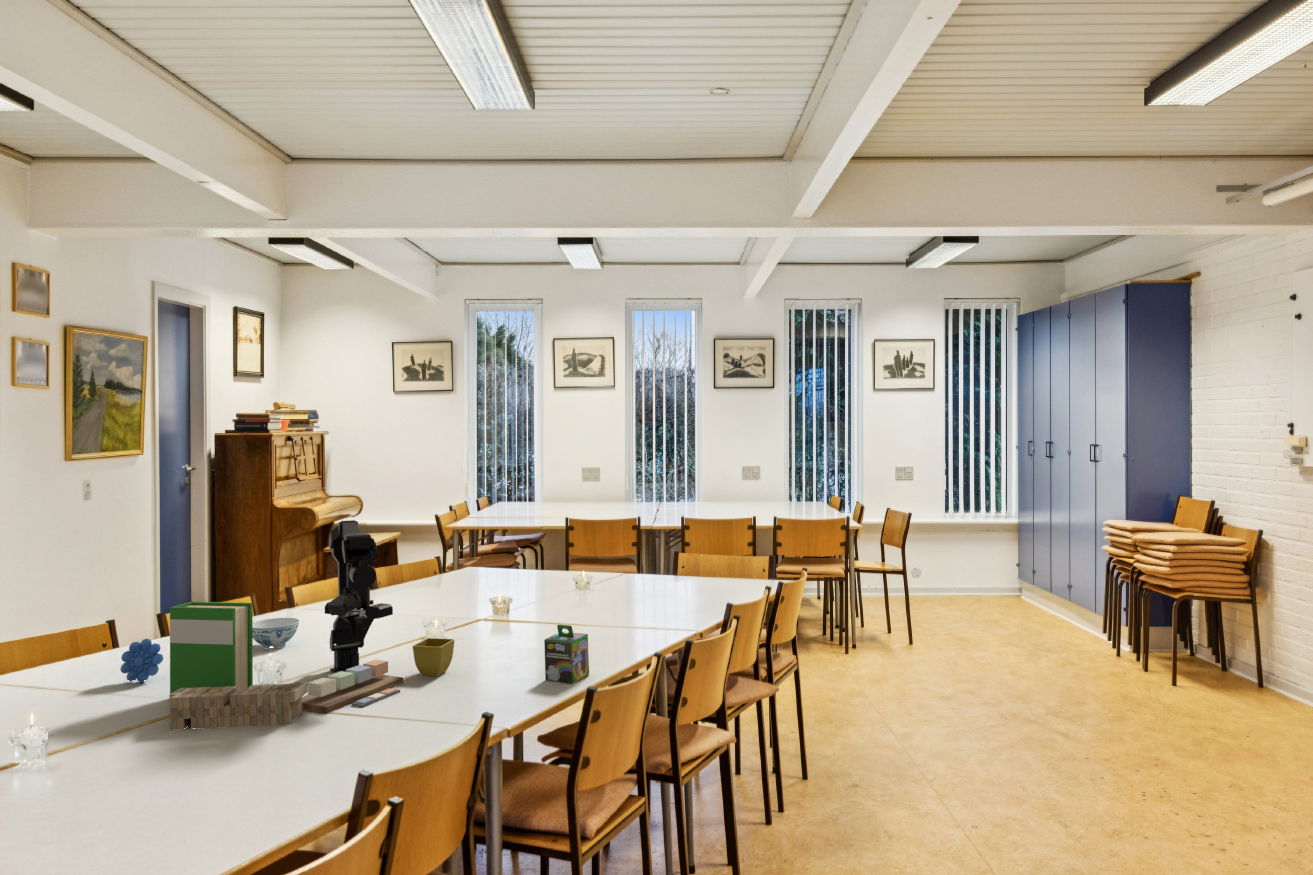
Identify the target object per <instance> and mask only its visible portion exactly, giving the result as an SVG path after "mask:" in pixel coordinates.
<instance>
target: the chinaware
mask: <svg viewBox="0 0 1313 875" xmlns="http://www.w3.org/2000/svg"><path fill="white" fill-rule="evenodd" d="M299 625H300V619H298V618H295V617H276V618H275V617H274V618H273V617H272V618H266V619H260V620H257V621H252V634H253V641H255V642H256V643H257V644H259V645H260V646H261V647H264V648H269V647H270V646H273V647H274V648H275V649H279V648H278V647H281V648H283V647H282V646H284V647H285V646H286V643H288V641H291V639H293V637H294V636H295V634H296V632H297V630H298V627H299ZM264 648H263V649H264Z"/></svg>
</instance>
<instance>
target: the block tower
mask: <svg viewBox="0 0 1313 875" xmlns="http://www.w3.org/2000/svg"><path fill="white" fill-rule="evenodd" d="M307 693H308V682H306V681H305V682H301V681H297V682H292V683H277V684H276V683H271V684H269V683H266V684H253V685H251V686H250V687H248V688H247V689H245V688H244V689H239V690H238V686H227V687H213V688H212V687H200V688H199V687H196V688H180V689H178V690H176V691H175V692H173V693H171V694H170V693H169V696H168V697H169V722H170V724H169V726H170V730H171V729H183V730H185V729H184V728H186V727H187V726H188V727H190V729H191V728H204V729H218V728H217V727H220V729H222V728H221V727H230V728H242V727H243V728H248V727H249V728H250V727H251V726H254V727H270V725H271V726H272V725H273V726H288V725H292V723H293V722H295V721H296V720H297V719H298V718H299V717H300V716H301V715H302V714H303V709H302V697H304V696H306V694H307ZM190 724H191V725H190ZM189 725H190V726H189ZM273 726H272V727H273ZM188 727H187V728H188ZM187 728H186V729H187Z"/></svg>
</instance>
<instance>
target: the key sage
mask: <svg viewBox="0 0 1313 875" xmlns="http://www.w3.org/2000/svg"><path fill="white" fill-rule="evenodd" d="M326 678H329V679H336V689H339V690H342V689H344V688H347V687H350V686H352V685H354V673H350V672H343V671H340V672H335V673H332V674H329V675H327V677H326Z"/></svg>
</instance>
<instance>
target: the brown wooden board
mask: <svg viewBox="0 0 1313 875" xmlns="http://www.w3.org/2000/svg"><path fill="white" fill-rule="evenodd" d="M401 683H402V684H404V677H401V676H397V675H395V676H394V675H388V674H382V675H379V676H377V677H374V676H372V678H371V679H369V680H366V681H363V682H360V683H355V682H354V685H352V686H350V687H347V688H344V689H342V690H339V689H336V692H333V693H331V694H328V695H325V696H323V697H319V696H313V695H308V694H307V695H303V696H302V710H306V711H312V712H317V713H323V714H328V713H331V712H334V710H335V711H336V710H339V709H342V708H344V706H345V707H347V706H349V705H352V703H354V702H356V701H358V700H360V699H363V698H366V697H368V696H371V695H373V694H376V693H379V692H381V691H383V690H386V689H389V688H391V689H393V688H395V687H397V686H399V684H400V685H402V684H401ZM396 685H397V686H396ZM394 686H395V687H394Z"/></svg>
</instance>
